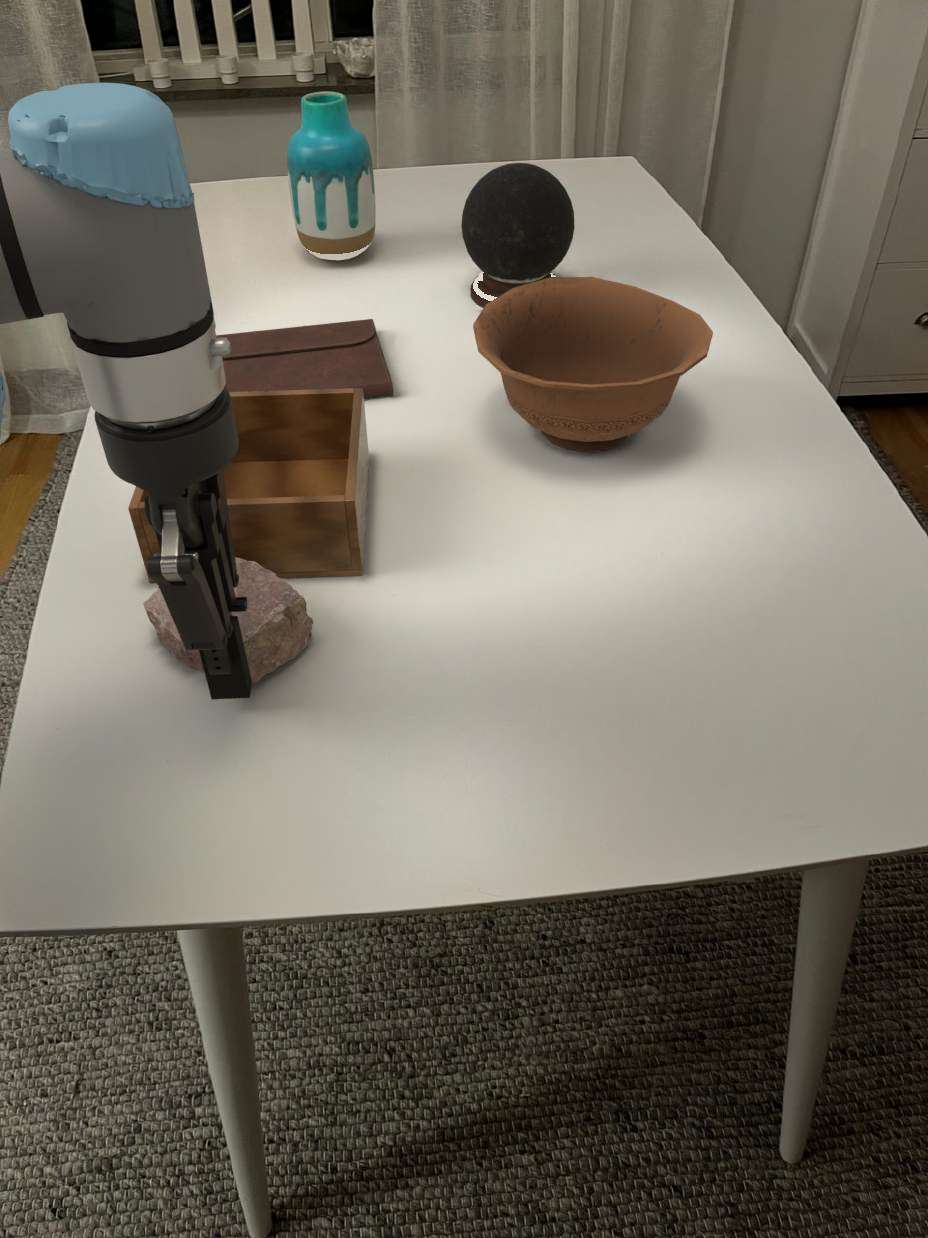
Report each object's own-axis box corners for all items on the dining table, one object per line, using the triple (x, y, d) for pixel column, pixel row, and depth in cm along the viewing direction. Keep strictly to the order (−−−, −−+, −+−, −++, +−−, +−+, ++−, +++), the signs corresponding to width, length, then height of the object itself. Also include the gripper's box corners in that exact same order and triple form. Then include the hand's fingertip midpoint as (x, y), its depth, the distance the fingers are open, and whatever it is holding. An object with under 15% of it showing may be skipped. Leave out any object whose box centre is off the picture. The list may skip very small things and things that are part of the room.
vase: (291, 246, 136) (271, 89, 123) (368, 235, 138) (357, 81, 125) (306, 277, 128) (286, 114, 115) (387, 266, 131) (377, 104, 118)
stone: (135, 635, 79) (121, 588, 76) (226, 579, 84) (216, 533, 81) (234, 706, 73) (223, 658, 70) (325, 641, 78) (319, 594, 75)
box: (149, 583, 84) (127, 508, 79) (184, 464, 97) (168, 393, 92) (362, 575, 84) (354, 500, 79) (369, 458, 97) (362, 387, 92)
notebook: (393, 397, 106) (392, 379, 104) (201, 419, 103) (197, 402, 102) (373, 332, 117) (372, 316, 115) (199, 351, 114) (195, 334, 113)
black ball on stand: (451, 277, 128) (448, 152, 118) (552, 266, 130) (558, 142, 120) (476, 323, 118) (476, 191, 108) (584, 310, 120) (594, 179, 110)
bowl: (640, 360, 111) (651, 262, 104) (737, 467, 95) (758, 360, 88) (447, 392, 106) (444, 292, 99) (515, 510, 91) (518, 401, 83)
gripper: (211, 458, 52) (275, 759, 68) (242, 340, 62) (292, 628, 77) (63, 463, 52) (162, 763, 68) (118, 344, 62) (193, 631, 77)
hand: (232, 691), depth 72 cm, fingers closed
